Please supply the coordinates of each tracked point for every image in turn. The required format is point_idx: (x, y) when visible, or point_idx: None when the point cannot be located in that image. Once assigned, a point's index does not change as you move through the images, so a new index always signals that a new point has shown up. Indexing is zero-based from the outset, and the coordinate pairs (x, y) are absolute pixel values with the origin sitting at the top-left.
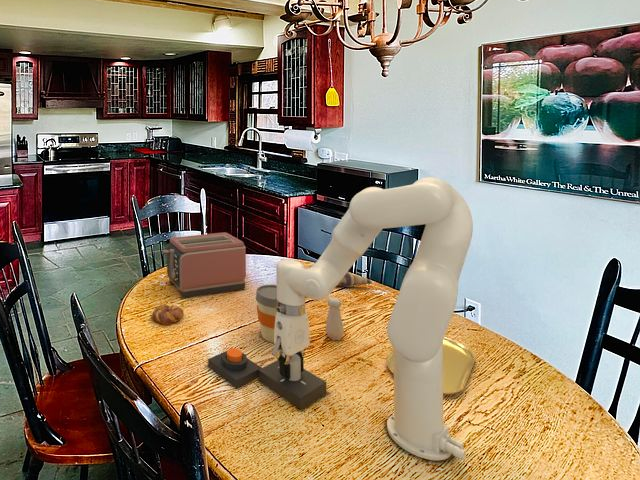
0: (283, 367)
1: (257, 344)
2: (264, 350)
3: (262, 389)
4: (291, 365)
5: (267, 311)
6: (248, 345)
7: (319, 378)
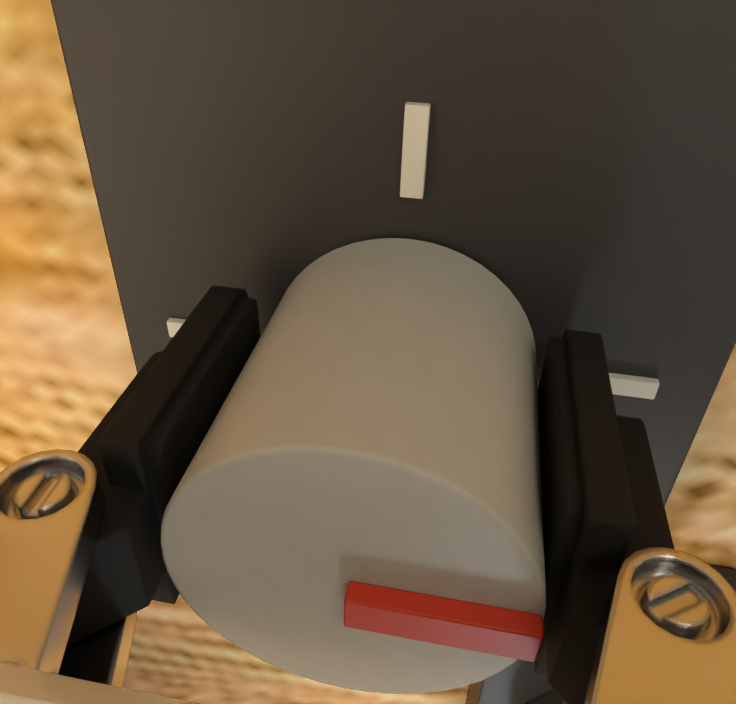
0: (659, 537)
1: (191, 670)
2: (197, 624)
3: (719, 446)
4: (517, 478)
5: None
6: (259, 699)
7: (72, 34)
